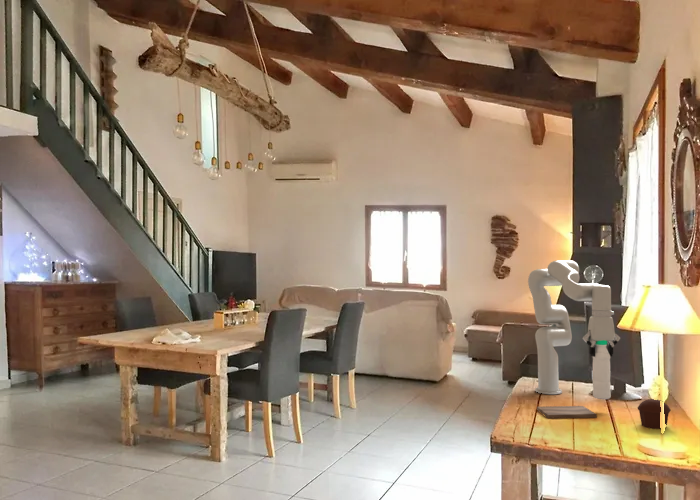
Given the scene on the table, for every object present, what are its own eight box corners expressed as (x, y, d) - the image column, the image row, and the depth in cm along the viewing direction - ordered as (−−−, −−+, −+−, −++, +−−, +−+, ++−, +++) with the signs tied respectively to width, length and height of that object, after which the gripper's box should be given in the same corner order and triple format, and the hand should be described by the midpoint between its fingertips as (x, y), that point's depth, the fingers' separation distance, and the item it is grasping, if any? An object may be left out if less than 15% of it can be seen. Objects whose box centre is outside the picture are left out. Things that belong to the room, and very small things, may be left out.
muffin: (647, 430, 232) (647, 403, 232) (631, 422, 243) (631, 397, 243) (677, 429, 233) (677, 402, 233) (660, 421, 244) (659, 396, 244)
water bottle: (607, 395, 265) (607, 337, 264) (613, 399, 258) (612, 340, 257) (590, 395, 265) (590, 337, 265) (595, 399, 258) (595, 340, 258)
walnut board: (536, 410, 264) (536, 406, 264) (583, 409, 264) (582, 405, 264) (547, 418, 250) (547, 414, 250) (596, 417, 250) (596, 414, 250)
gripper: (617, 313, 265) (617, 354, 265) (577, 313, 265) (577, 354, 265) (625, 315, 258) (625, 357, 258) (584, 315, 257) (584, 357, 257)
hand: (601, 355), depth 261 cm, fingers closed on water bottle, 6 cm apart
